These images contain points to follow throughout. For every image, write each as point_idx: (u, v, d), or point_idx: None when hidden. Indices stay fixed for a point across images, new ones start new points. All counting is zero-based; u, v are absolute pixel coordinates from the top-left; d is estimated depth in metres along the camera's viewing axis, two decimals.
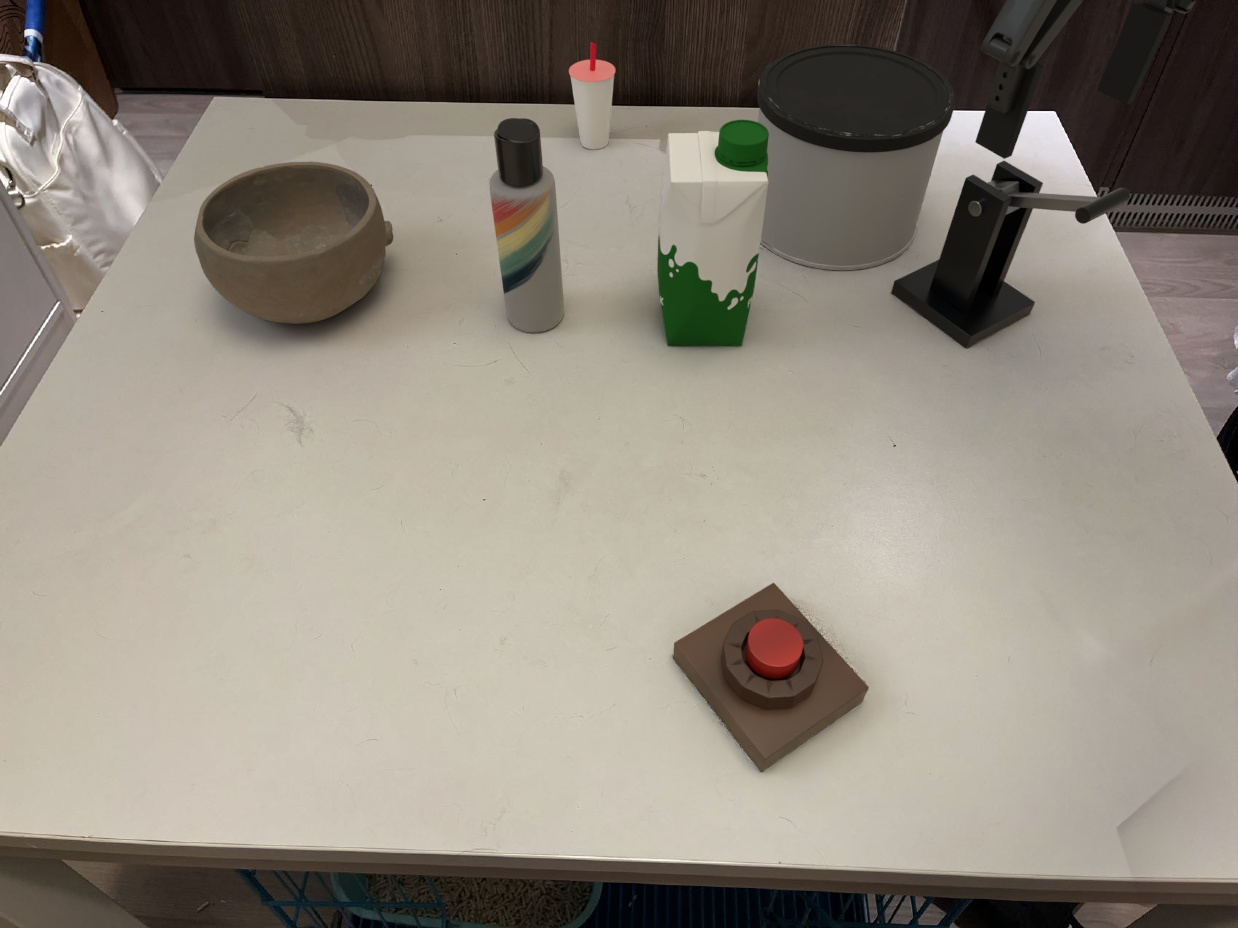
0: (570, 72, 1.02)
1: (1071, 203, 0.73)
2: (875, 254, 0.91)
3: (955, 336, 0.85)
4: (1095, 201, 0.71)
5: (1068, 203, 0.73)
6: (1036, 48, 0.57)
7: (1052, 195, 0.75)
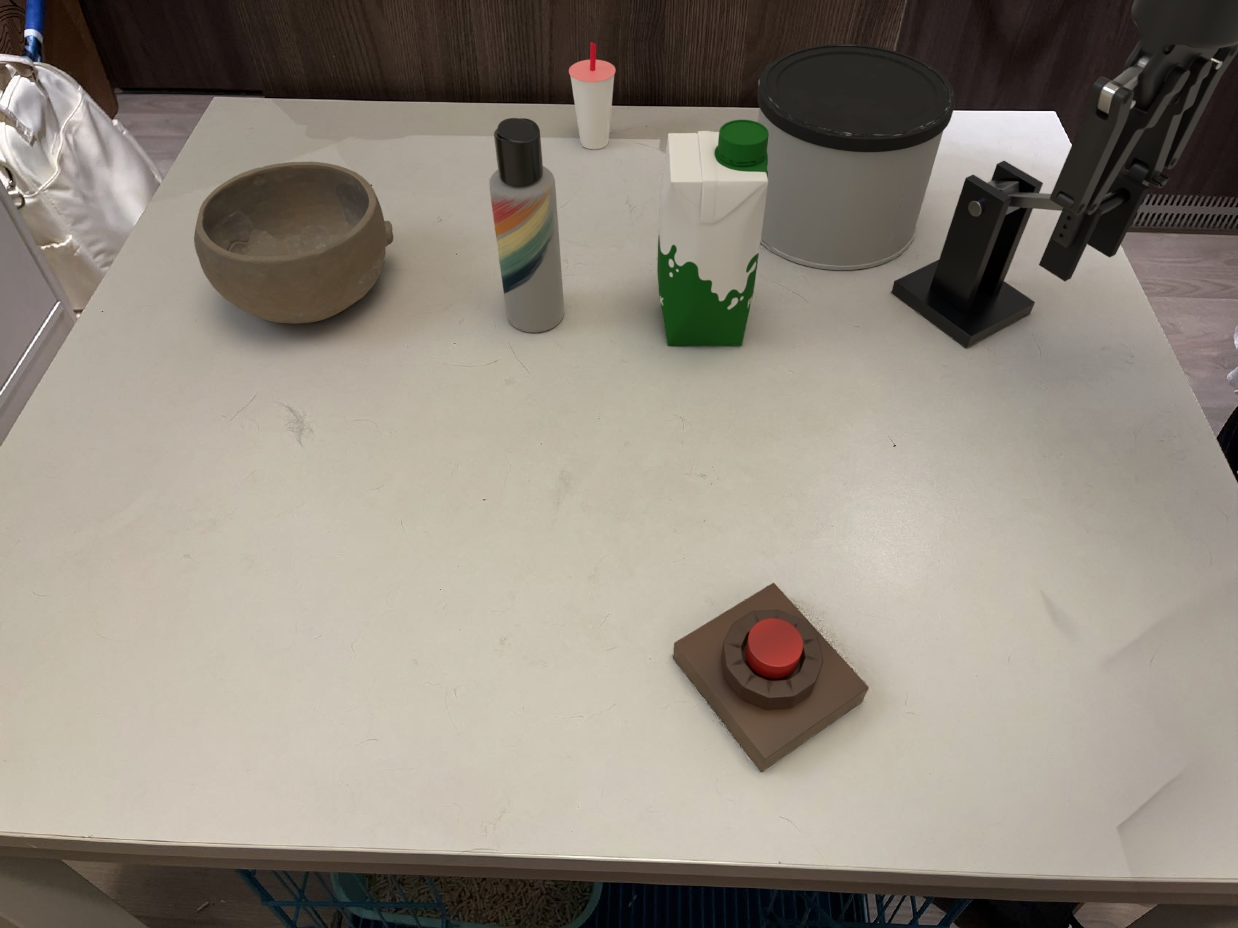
0: (570, 72, 1.02)
1: None
2: (875, 253, 0.91)
3: (955, 336, 0.85)
4: None
5: None
6: (1094, 201, 0.67)
7: None
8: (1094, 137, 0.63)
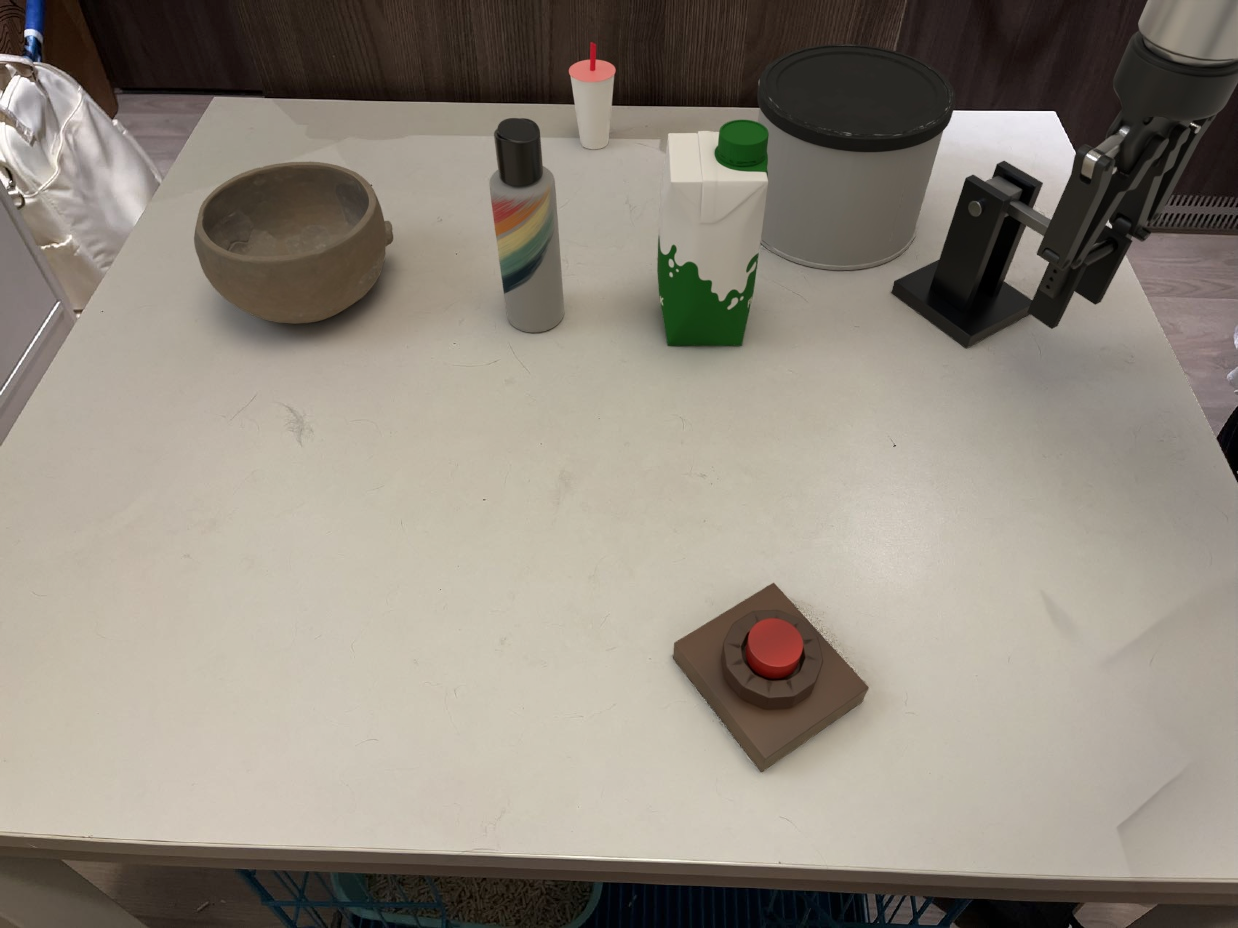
0: (570, 72, 1.02)
1: None
2: (875, 253, 0.91)
3: (955, 336, 0.85)
4: None
5: None
6: (1079, 257, 0.70)
7: None
8: (1078, 199, 0.66)
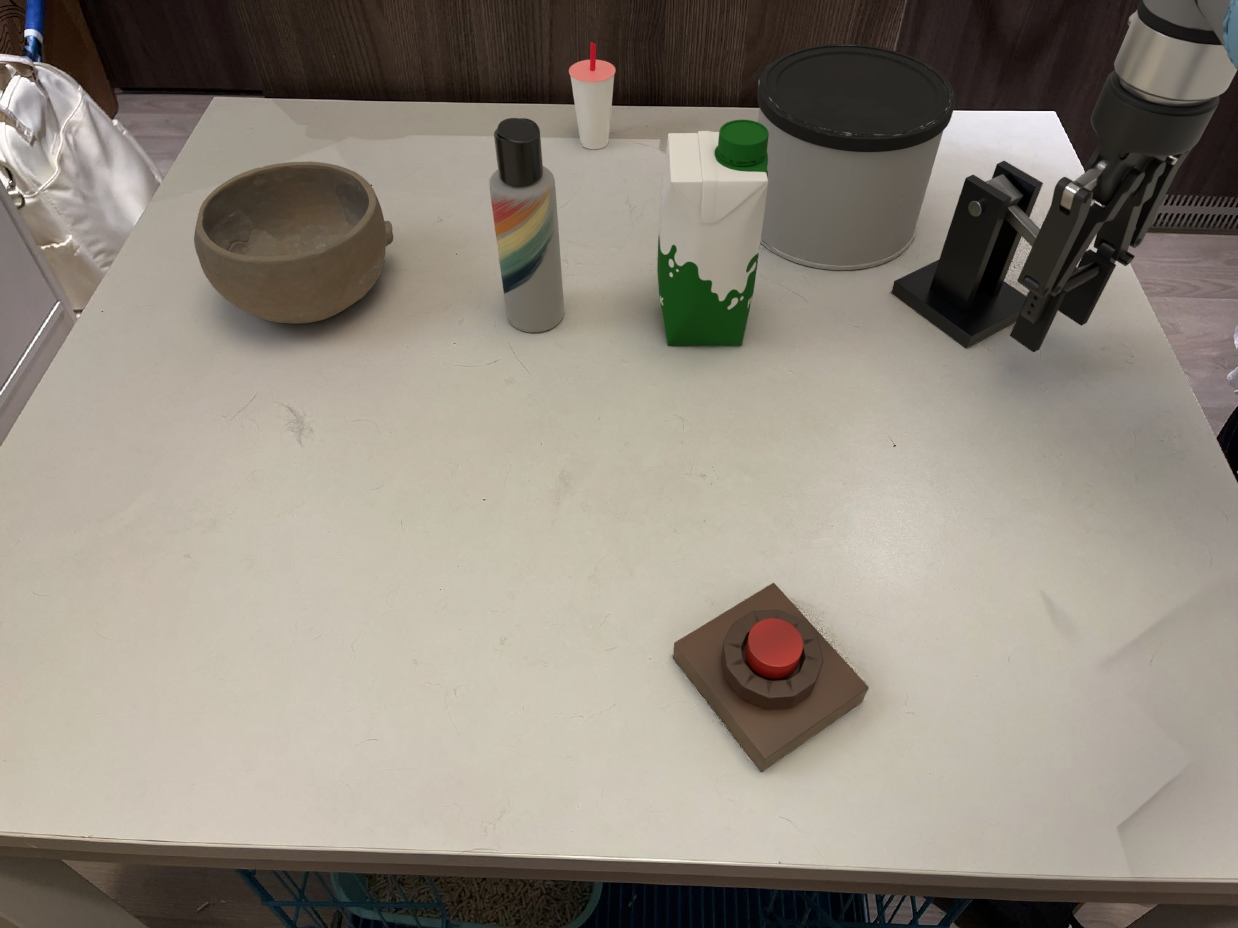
0: (570, 72, 1.02)
1: None
2: (875, 253, 0.91)
3: (955, 336, 0.85)
4: (1072, 278, 0.75)
5: None
6: (1058, 284, 0.73)
7: None
8: (1057, 230, 0.69)
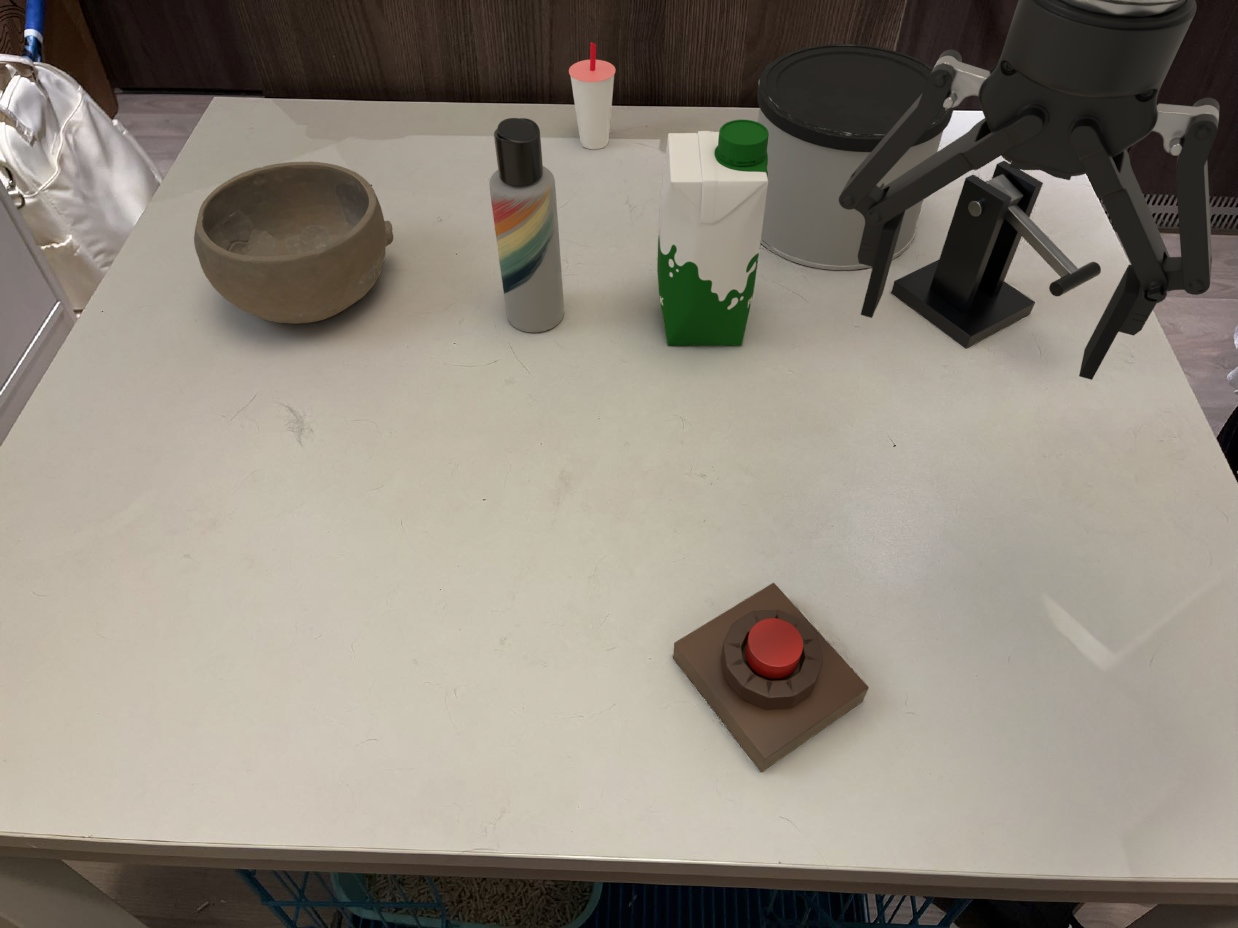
0: (570, 72, 1.02)
1: (1053, 259, 0.77)
2: None
3: (955, 336, 0.85)
4: (1072, 278, 0.75)
5: (1051, 257, 0.77)
6: (878, 206, 0.52)
7: (1043, 235, 0.77)
8: (904, 118, 0.49)
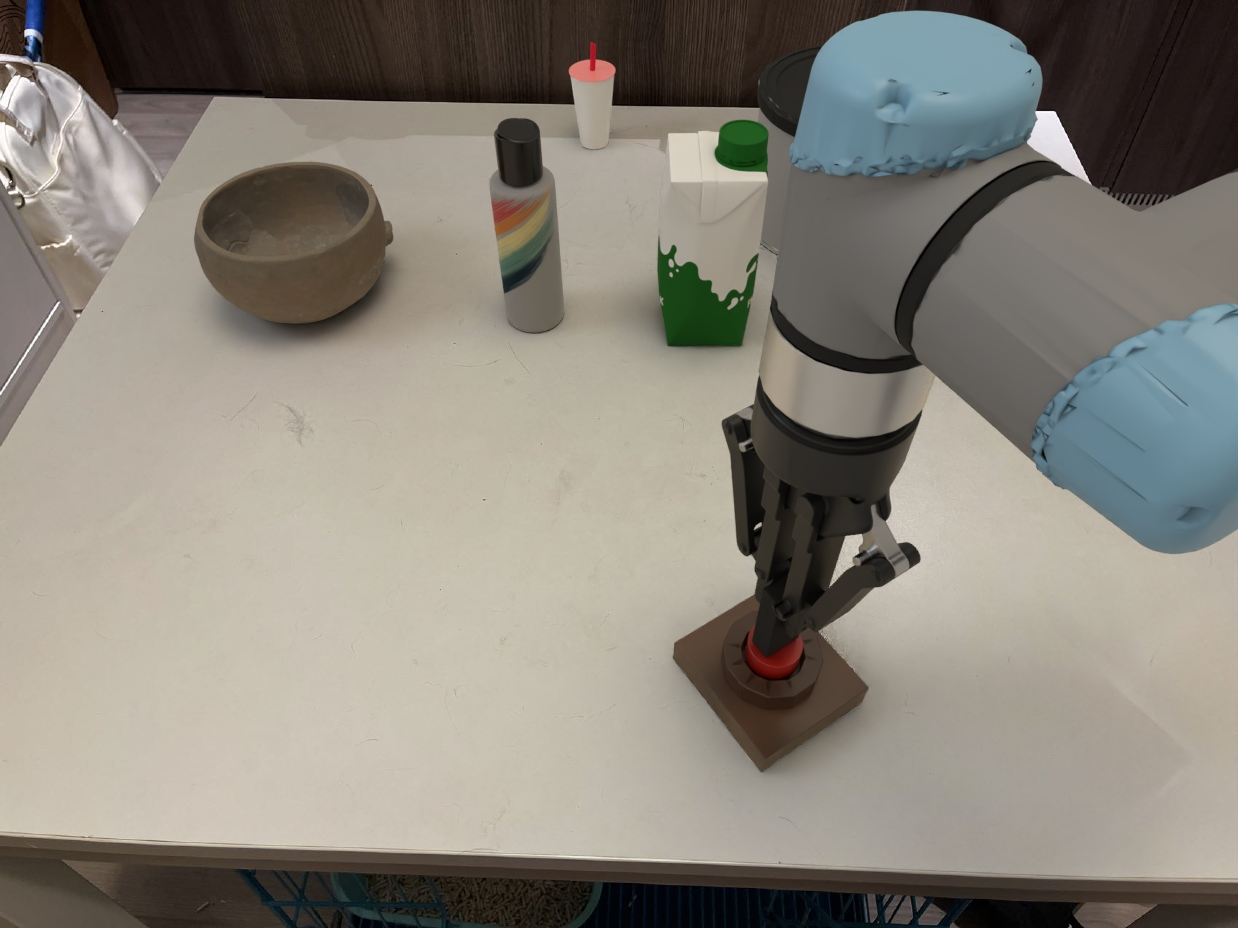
0: (570, 72, 1.02)
1: None
2: None
3: None
4: None
5: None
6: (757, 563, 0.53)
7: None
8: None
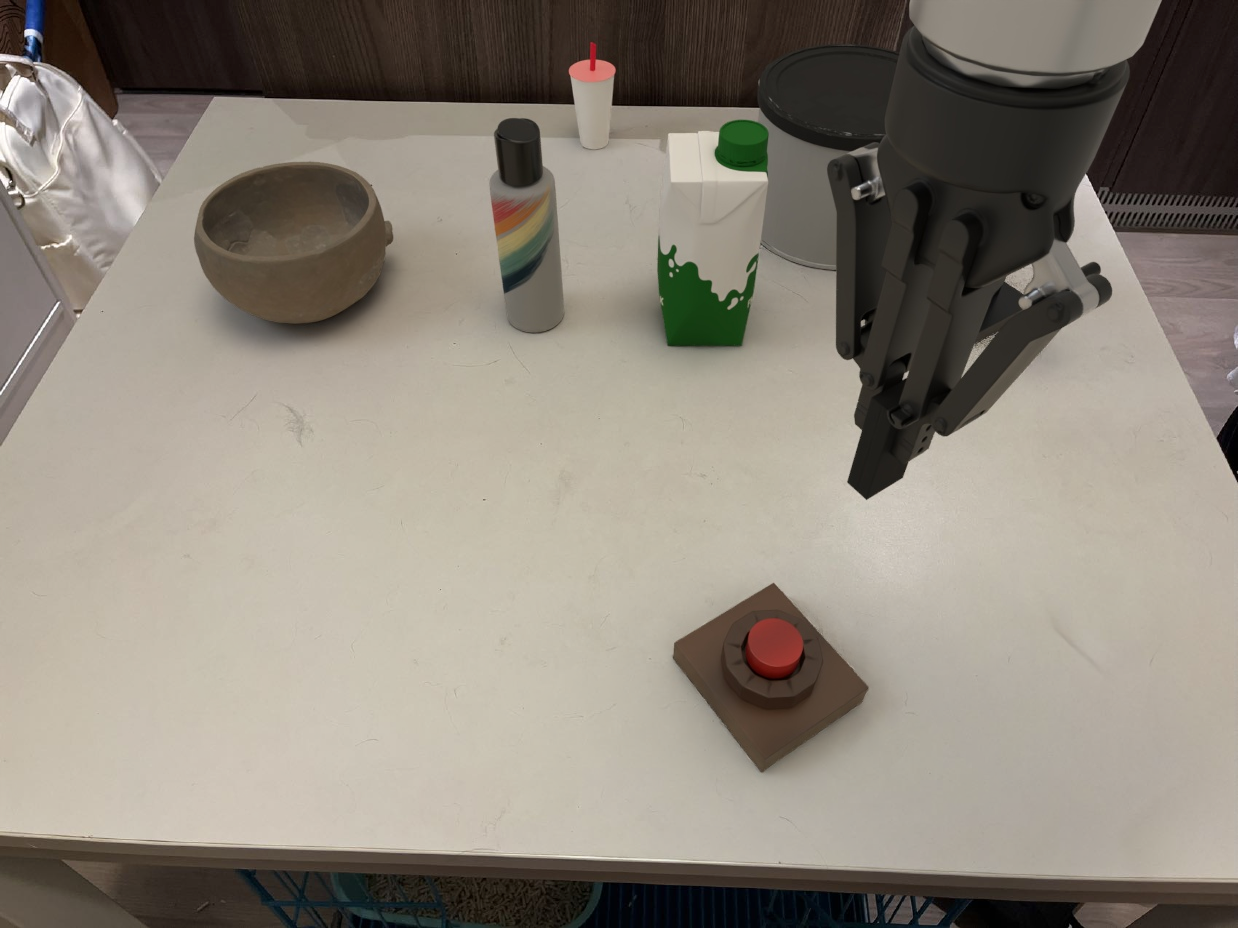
0: (570, 72, 1.02)
1: None
2: None
3: None
4: None
5: None
6: (864, 365, 0.43)
7: None
8: None
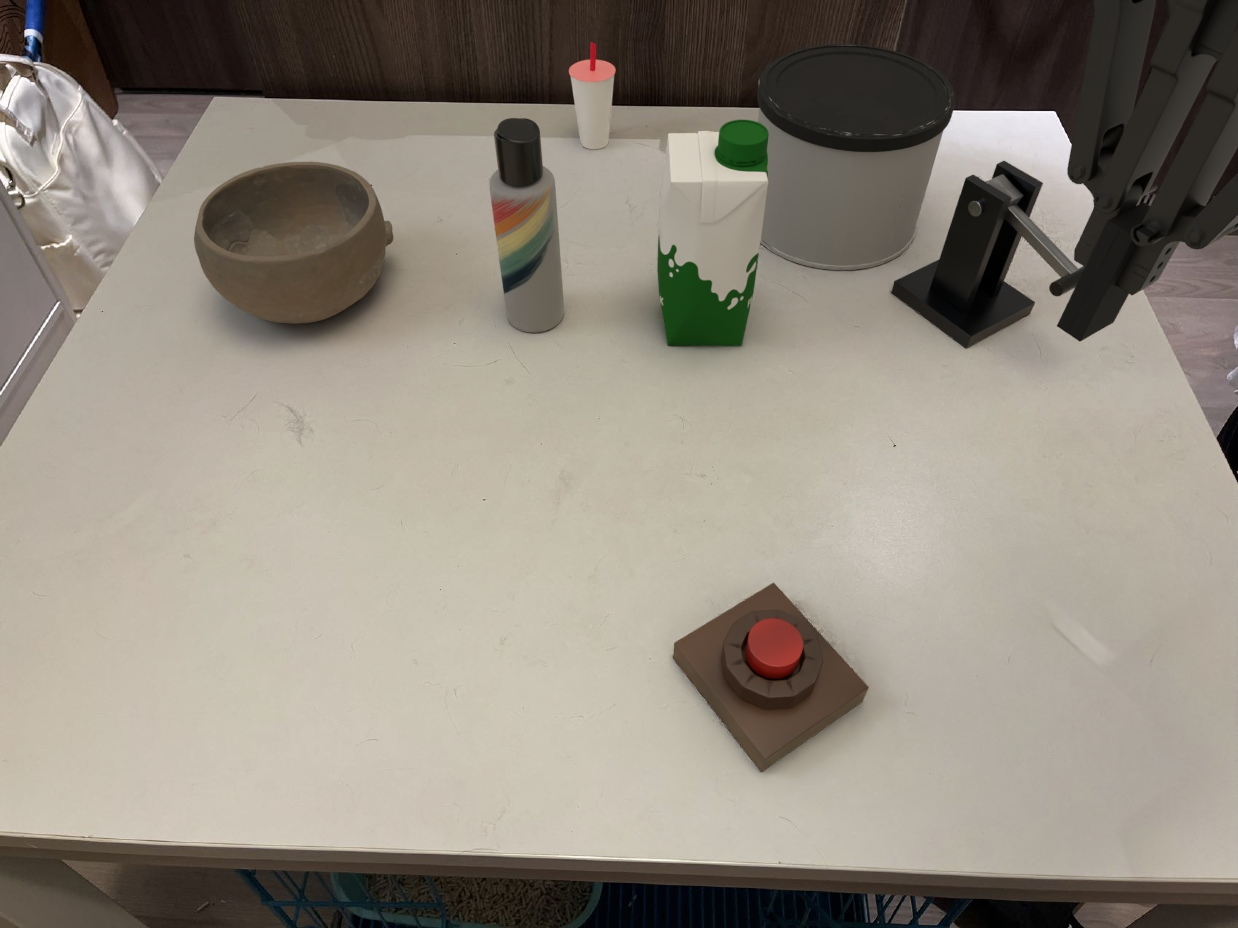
0: (570, 72, 1.02)
1: (1053, 259, 0.77)
2: (875, 253, 0.91)
3: (955, 336, 0.85)
4: (1072, 278, 0.75)
5: (1051, 257, 0.77)
6: (1101, 186, 0.42)
7: (1043, 235, 0.77)
8: None
